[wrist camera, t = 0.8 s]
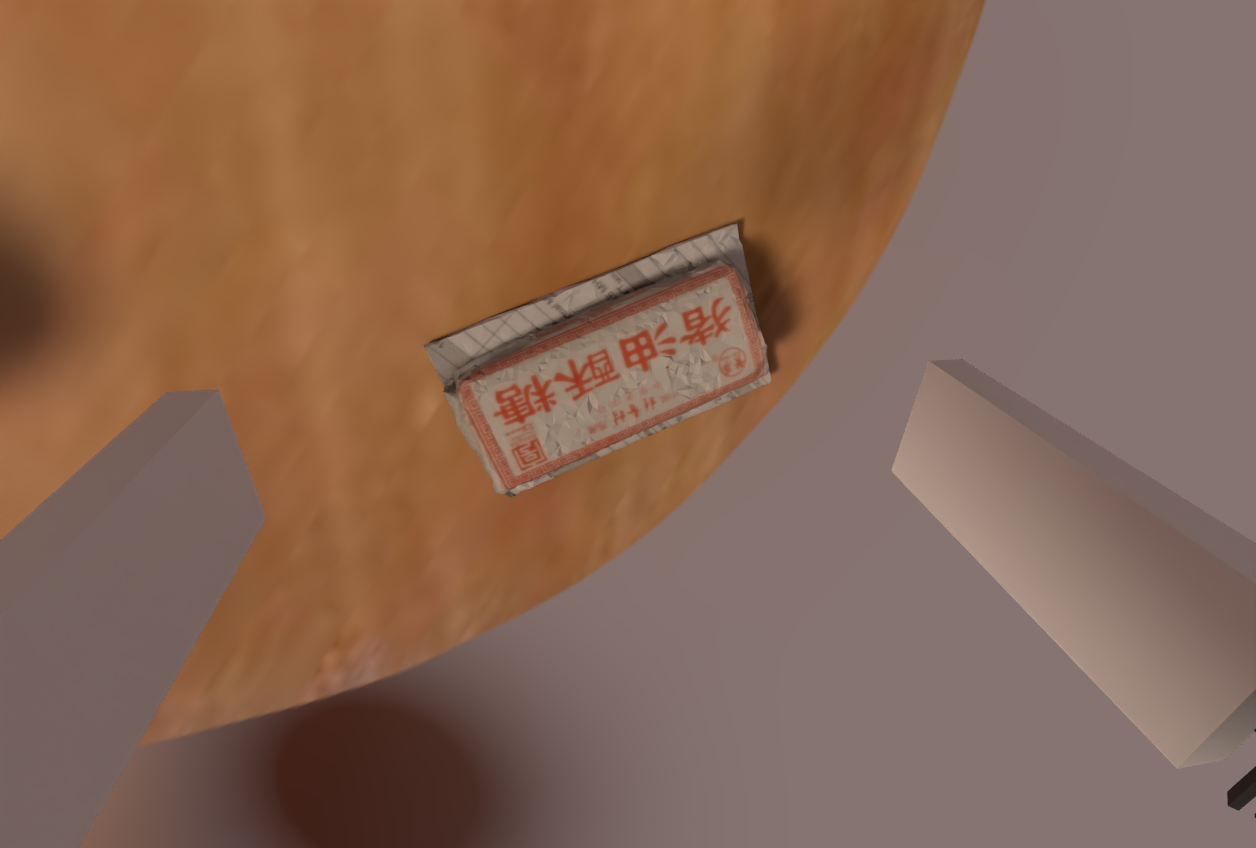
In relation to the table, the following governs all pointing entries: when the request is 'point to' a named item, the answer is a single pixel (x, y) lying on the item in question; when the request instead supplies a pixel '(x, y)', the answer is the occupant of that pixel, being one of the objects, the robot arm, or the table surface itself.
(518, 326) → the packaged product
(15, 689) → the robot arm
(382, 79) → the table surface
